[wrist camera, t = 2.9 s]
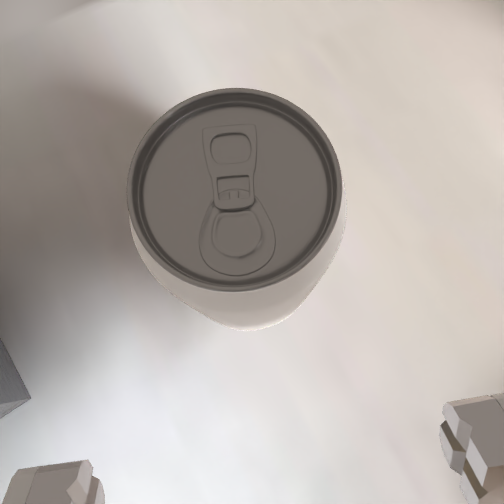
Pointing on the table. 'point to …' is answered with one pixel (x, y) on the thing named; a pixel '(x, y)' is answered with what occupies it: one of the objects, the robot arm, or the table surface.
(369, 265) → the table surface
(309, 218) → the can
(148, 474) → the table surface
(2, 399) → the drawer
